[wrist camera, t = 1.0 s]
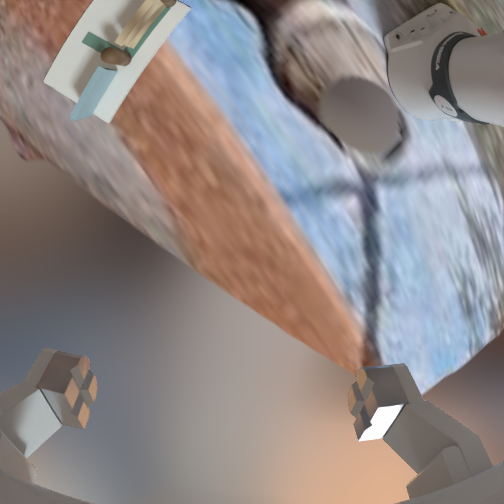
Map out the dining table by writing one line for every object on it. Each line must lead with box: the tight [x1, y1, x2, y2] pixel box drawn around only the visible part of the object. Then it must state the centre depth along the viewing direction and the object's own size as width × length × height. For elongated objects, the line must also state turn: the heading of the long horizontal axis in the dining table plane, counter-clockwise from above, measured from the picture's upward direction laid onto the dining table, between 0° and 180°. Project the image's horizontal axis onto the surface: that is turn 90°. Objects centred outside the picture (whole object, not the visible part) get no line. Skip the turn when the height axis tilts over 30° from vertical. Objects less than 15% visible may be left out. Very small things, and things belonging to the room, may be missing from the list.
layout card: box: [43, 0, 191, 124], centre depth 36 cm, size 21×15×1 cm
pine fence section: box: [101, 0, 177, 66], centre depth 33 cm, size 13×2×7 cm, turn 142°
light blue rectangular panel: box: [69, 66, 118, 121], centre depth 37 cm, size 8×1×5 cm, turn 142°
